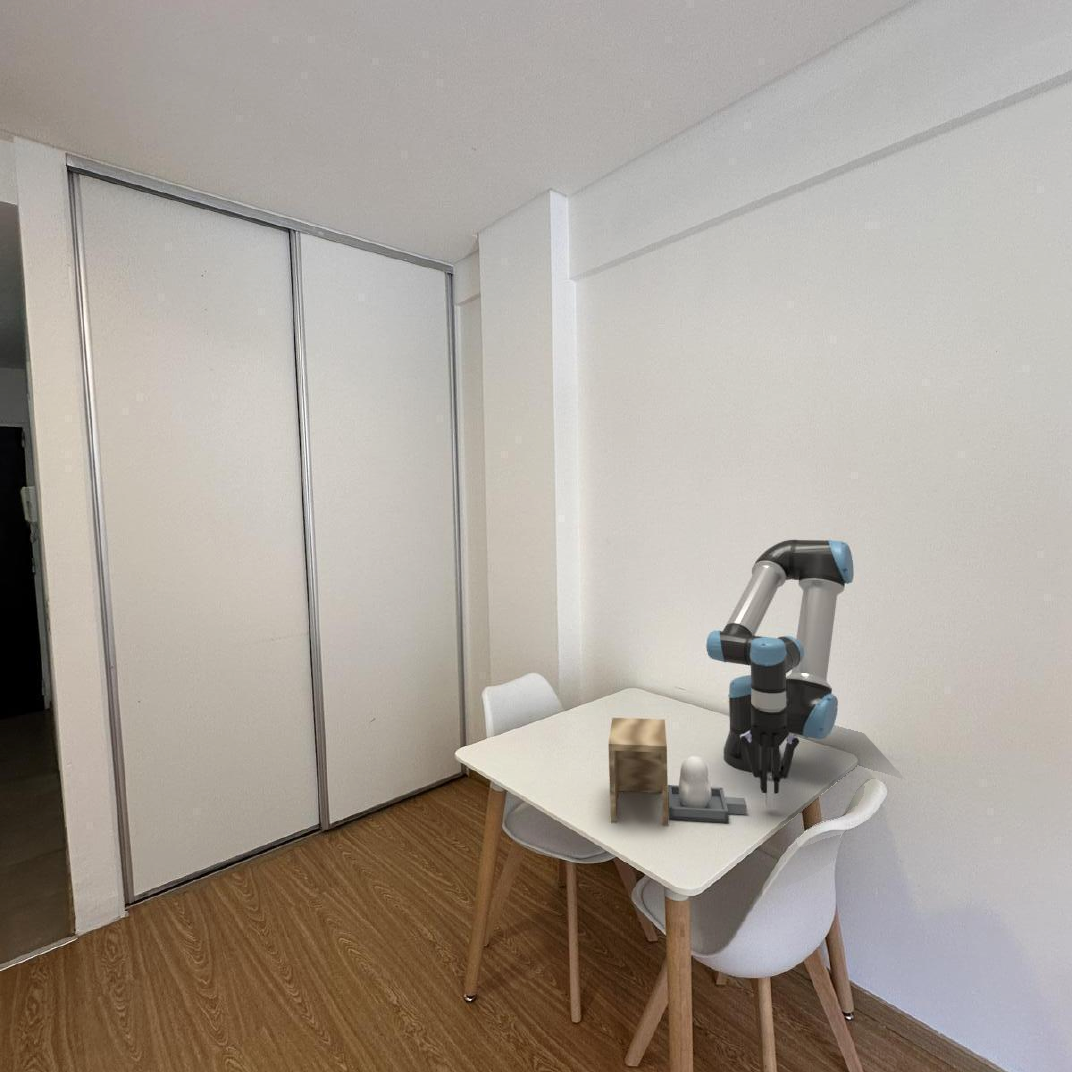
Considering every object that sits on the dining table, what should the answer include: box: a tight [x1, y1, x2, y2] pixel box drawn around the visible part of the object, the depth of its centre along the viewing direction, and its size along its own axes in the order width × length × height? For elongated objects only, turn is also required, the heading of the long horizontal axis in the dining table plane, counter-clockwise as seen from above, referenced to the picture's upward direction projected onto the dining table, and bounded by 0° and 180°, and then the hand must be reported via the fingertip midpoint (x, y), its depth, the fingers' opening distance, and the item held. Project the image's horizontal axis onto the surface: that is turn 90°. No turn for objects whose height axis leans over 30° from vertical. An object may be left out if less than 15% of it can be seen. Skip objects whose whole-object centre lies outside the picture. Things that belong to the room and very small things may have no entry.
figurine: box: [678, 755, 712, 808], centre depth 141 cm, size 7×8×12 cm
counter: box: [608, 717, 670, 827], centre depth 143 cm, size 13×16×18 cm
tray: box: [668, 784, 748, 824], centre depth 140 cm, size 18×11×3 cm, turn 80°
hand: (769, 805), depth 138 cm, fingers closed
